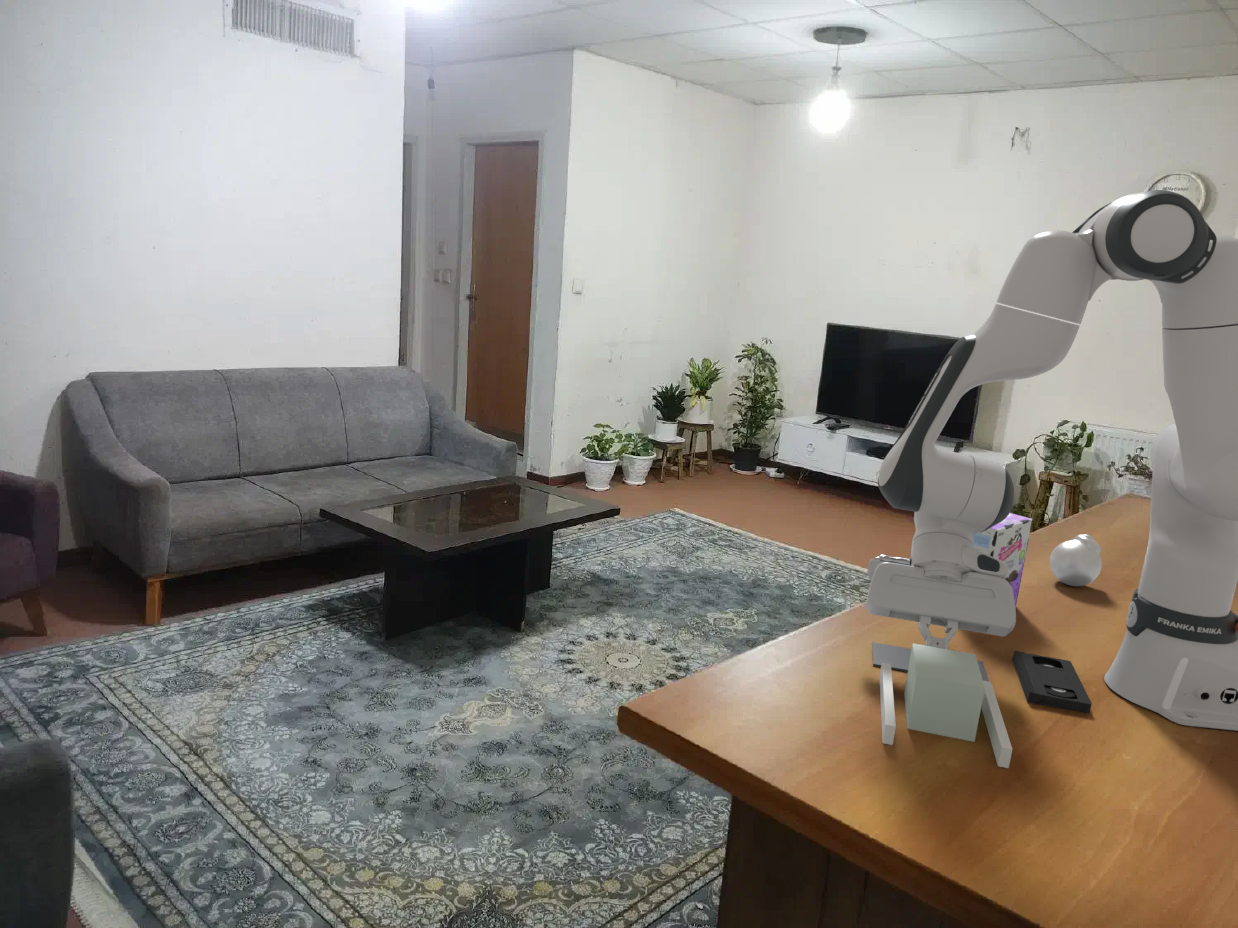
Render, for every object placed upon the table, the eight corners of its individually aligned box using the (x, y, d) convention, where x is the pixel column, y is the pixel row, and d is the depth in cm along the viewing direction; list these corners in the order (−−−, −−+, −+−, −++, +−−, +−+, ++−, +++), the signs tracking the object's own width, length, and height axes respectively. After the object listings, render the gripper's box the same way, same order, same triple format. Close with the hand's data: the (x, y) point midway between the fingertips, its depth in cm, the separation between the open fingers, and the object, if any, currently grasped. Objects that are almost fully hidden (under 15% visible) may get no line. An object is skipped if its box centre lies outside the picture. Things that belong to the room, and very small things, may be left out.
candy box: (979, 623, 148) (997, 529, 144) (946, 611, 153) (963, 519, 149) (1017, 606, 157) (1034, 517, 154) (985, 595, 162) (1001, 508, 158)
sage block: (965, 705, 120) (975, 654, 118) (974, 742, 110) (984, 687, 109) (904, 693, 122) (912, 643, 120) (907, 729, 112) (916, 675, 110)
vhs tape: (1089, 717, 120) (1092, 703, 119) (1026, 705, 122) (1029, 692, 121) (1067, 672, 133) (1070, 660, 133) (1011, 662, 135) (1014, 650, 135)
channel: (982, 662, 133) (985, 647, 132) (1015, 769, 105) (1019, 750, 104) (872, 643, 137) (874, 628, 136) (875, 741, 108) (878, 723, 108)
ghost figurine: (1108, 595, 167) (1120, 544, 165) (1058, 591, 167) (1068, 540, 165) (1085, 578, 176) (1095, 529, 173) (1037, 574, 176) (1047, 525, 173)
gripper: (871, 543, 131) (862, 629, 125) (1019, 565, 127) (1018, 657, 120) (867, 562, 137) (857, 646, 130) (1008, 584, 132) (1007, 673, 125)
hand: (936, 651), depth 125 cm, fingers closed
